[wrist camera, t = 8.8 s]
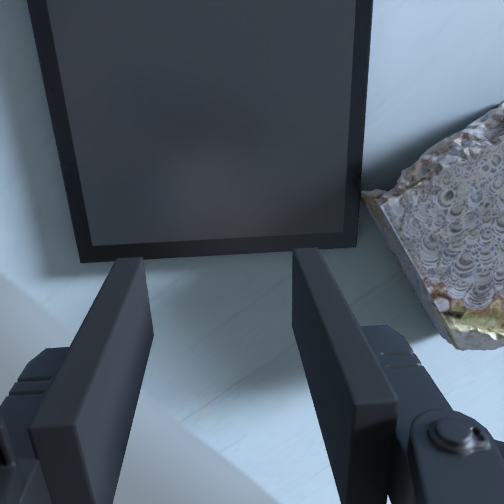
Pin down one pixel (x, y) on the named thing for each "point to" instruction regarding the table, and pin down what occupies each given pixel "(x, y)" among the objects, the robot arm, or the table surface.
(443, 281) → the geological specimen
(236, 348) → the table surface
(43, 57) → the tablet
